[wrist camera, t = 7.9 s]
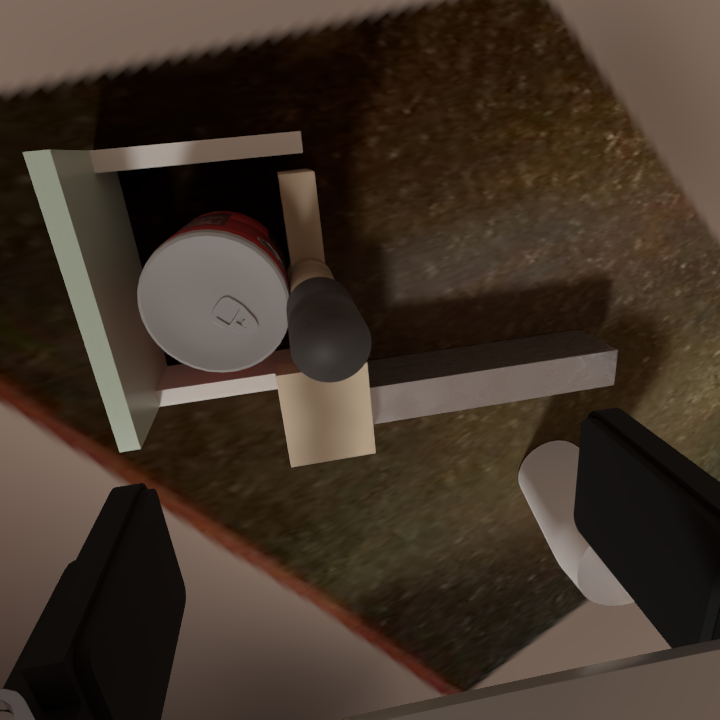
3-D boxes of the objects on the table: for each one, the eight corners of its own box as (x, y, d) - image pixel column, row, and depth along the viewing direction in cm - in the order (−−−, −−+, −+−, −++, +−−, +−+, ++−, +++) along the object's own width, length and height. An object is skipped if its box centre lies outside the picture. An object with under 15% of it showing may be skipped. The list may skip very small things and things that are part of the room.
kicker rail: (581, 329, 43) (618, 349, 39) (578, 361, 44) (614, 385, 40) (326, 366, 41) (333, 393, 36) (330, 399, 42) (337, 429, 37)
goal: (296, 133, 34) (306, 125, 25) (325, 357, 40) (341, 416, 31) (92, 153, 33) (22, 152, 23) (155, 382, 39) (119, 452, 30)
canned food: (270, 328, 39) (269, 389, 29) (162, 297, 37) (121, 351, 27) (300, 231, 36) (311, 260, 26) (187, 193, 34) (152, 208, 24)
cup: (571, 410, 46) (665, 489, 35) (607, 473, 50) (702, 563, 39) (489, 465, 47) (555, 559, 36) (530, 523, 51) (602, 625, 40)
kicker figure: (335, 165, 35) (396, 174, 18) (360, 409, 42) (420, 579, 25) (247, 174, 34) (223, 193, 17) (288, 420, 41) (300, 603, 24)
